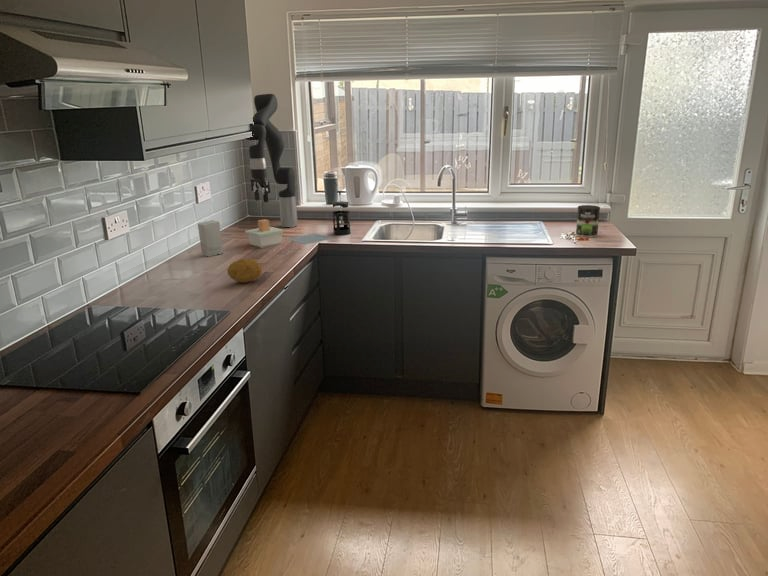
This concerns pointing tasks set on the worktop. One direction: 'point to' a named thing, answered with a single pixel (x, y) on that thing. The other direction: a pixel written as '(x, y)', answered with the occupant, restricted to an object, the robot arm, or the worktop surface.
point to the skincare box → (210, 238)
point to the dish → (265, 240)
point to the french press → (346, 219)
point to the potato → (244, 270)
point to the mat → (309, 238)
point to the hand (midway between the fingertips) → (261, 201)
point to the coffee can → (587, 221)
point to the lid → (264, 229)
